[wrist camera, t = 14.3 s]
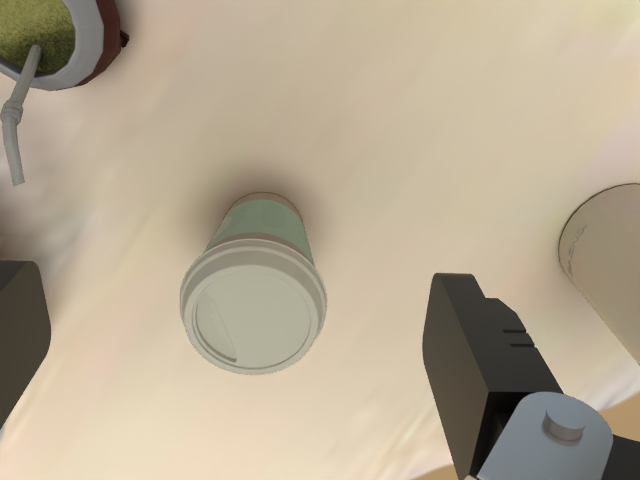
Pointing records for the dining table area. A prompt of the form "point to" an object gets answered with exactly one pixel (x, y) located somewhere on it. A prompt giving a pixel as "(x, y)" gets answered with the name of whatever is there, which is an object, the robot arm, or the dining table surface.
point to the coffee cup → (255, 290)
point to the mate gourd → (52, 53)
